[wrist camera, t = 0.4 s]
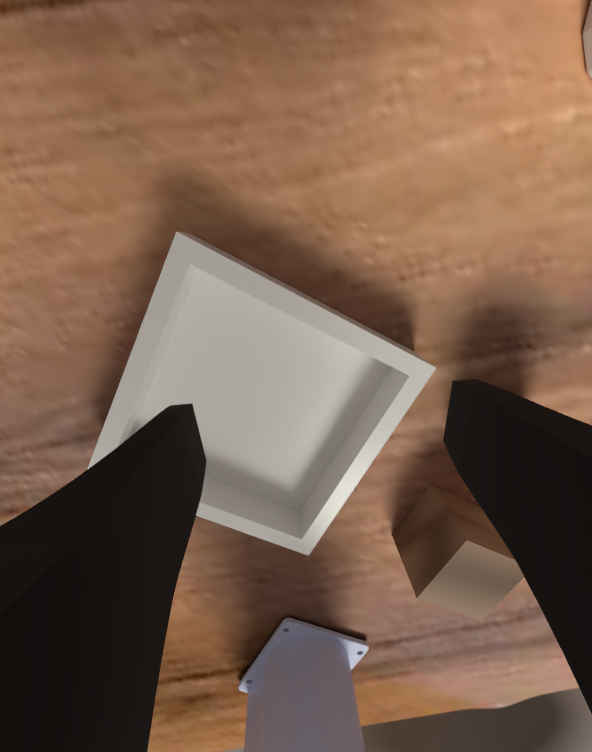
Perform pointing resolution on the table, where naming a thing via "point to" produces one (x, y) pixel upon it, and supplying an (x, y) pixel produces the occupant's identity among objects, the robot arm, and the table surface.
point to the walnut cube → (455, 555)
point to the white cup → (588, 41)
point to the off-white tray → (263, 392)
